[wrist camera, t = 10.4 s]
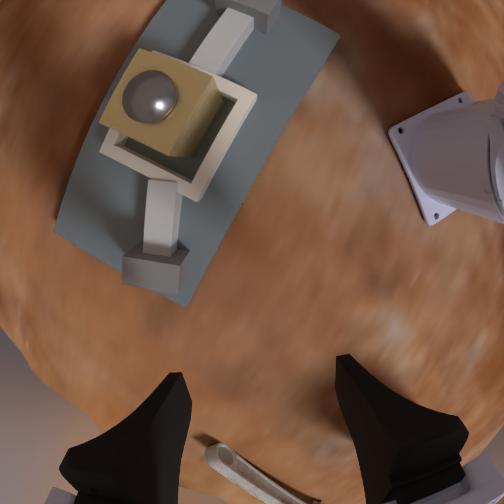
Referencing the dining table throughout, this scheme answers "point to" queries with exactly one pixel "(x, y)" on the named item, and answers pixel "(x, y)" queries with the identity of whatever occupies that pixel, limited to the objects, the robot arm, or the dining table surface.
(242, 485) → the wrench
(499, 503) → the amphora
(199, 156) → the base
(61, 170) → the dining table surface
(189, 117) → the block
